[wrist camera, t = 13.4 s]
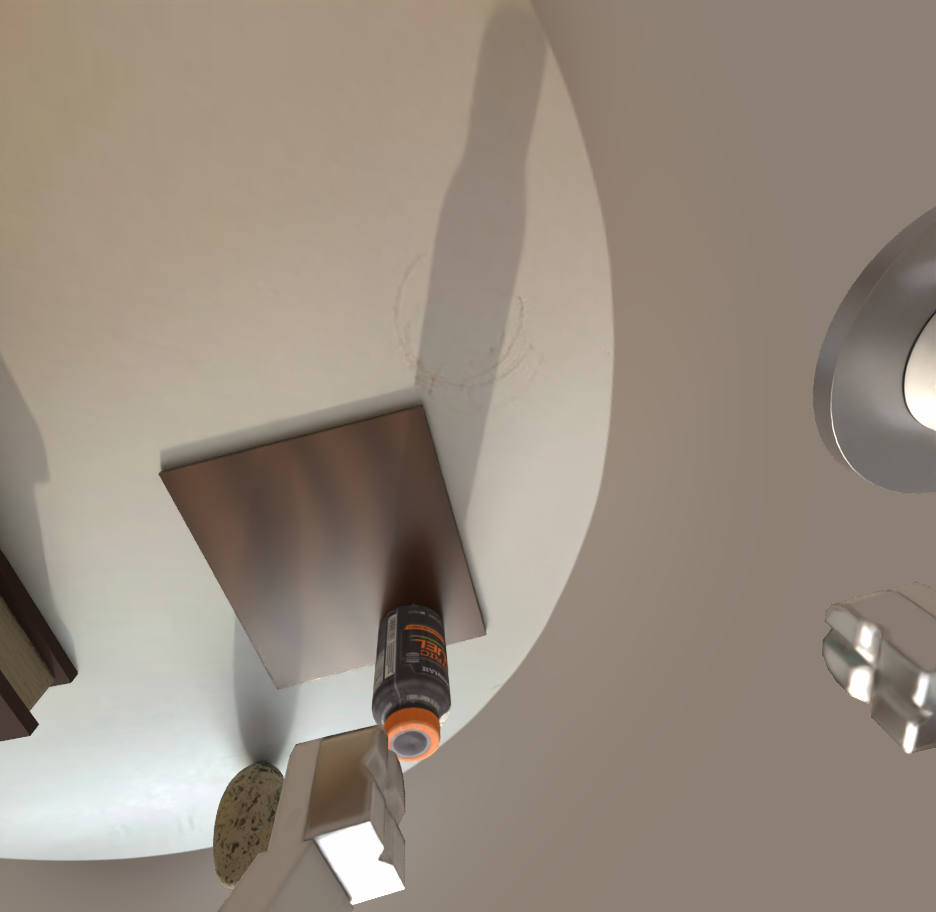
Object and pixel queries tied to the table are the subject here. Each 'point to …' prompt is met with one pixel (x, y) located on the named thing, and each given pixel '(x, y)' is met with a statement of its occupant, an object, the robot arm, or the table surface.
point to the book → (25, 657)
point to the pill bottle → (411, 681)
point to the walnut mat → (330, 541)
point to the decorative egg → (245, 820)
